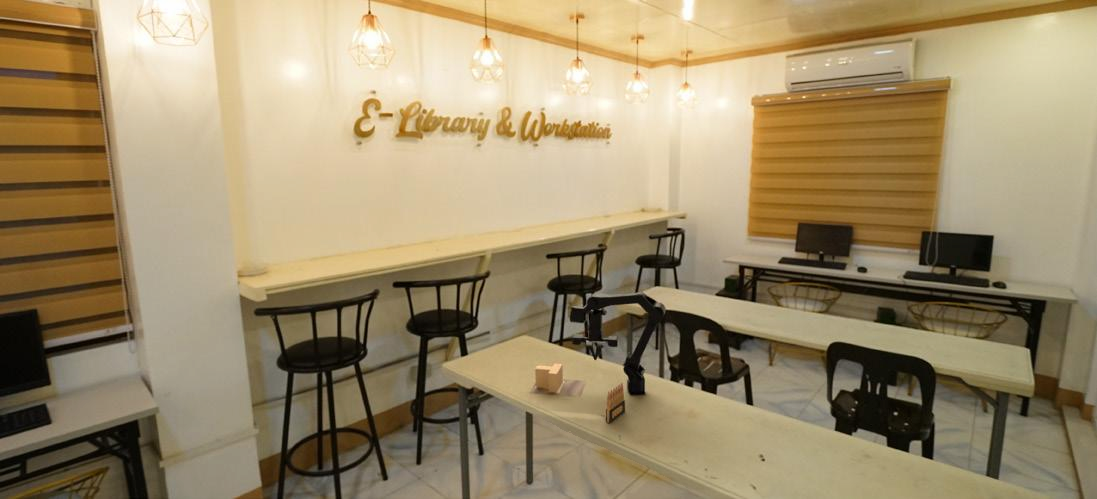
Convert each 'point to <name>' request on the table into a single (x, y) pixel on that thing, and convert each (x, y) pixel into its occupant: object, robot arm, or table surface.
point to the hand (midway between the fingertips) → (595, 359)
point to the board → (563, 388)
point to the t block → (549, 377)
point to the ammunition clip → (615, 404)
